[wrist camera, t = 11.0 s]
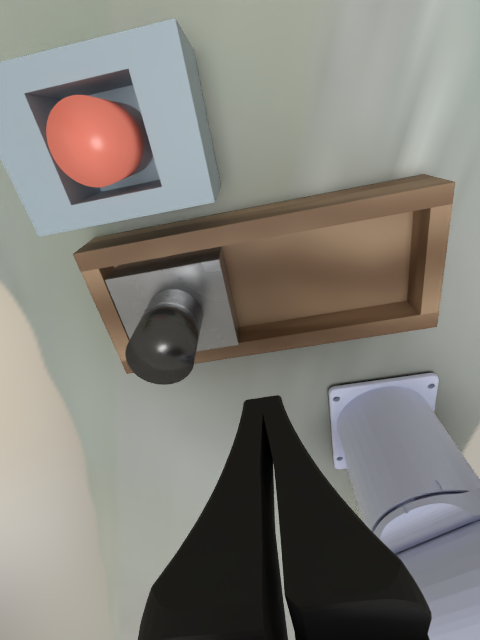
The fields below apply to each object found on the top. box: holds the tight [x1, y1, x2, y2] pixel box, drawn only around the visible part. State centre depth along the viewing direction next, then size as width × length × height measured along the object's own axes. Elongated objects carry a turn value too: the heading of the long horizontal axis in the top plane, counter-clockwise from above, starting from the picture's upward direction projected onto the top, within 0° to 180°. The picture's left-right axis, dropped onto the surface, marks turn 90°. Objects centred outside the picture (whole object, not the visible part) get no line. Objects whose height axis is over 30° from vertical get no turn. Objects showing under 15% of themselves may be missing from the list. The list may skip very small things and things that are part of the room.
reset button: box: [46, 95, 153, 187], centre depth 14 cm, size 3×3×4 cm
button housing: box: [0, 18, 221, 237], centre depth 15 cm, size 6×8×5 cm
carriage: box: [105, 246, 239, 384], centre depth 17 cm, size 5×6×6 cm
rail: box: [73, 174, 455, 374], centre depth 20 cm, size 8×19×3 cm, turn 101°
